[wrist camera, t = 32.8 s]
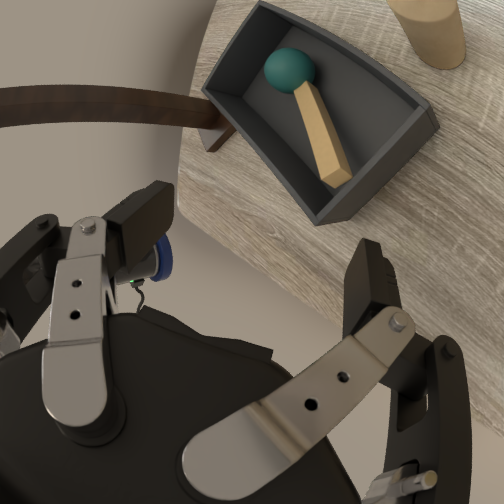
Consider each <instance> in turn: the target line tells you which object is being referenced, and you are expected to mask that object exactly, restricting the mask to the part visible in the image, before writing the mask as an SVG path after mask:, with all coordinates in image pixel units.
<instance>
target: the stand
mask: <svg viewBox="0 0 504 504" xmlns="http://www.w3.org/2000/svg"><path fill="white" fill-rule="evenodd" d="M59 122H127V123H145V124H159V125H171V126H181V127H190V128H197V129H198V132H199V134H200V137H201V139H202V142H203V145H204V147H205V150H206V152H215V151H216V150H217V149H218V148H219V147H220V146H221V145H222V144H223V143H224V142H225V141H226V140H227V139H228V138H229V137H230V136H231V135H232V134H233V133H234V132H235V131H236V128H235V127H234V126H233V125H232V124H231V123H230V122H229V121H228V119H227V118H226V117H225V116H224V115H223V114H222V113H221V112H220V111H219V109H218V108H217V107H216V106H215V105H214V104H213V103H212V102H211V101H210V100H205V99H200V98H195V97H190V96H184V95H178V94H172V93H166V92H158V91H151V90H143V89H134V88H125V87H113V86H96V85H35V86H19V87H9V88H0V128H2V127H10V126H19V125H29V124H41V123H59Z"/></svg>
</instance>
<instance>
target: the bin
mask: <svg viewBox="0 0 504 504" xmlns="http://www.w3.org/2000/svg"><path fill="white" fill-rule="evenodd" d="M282 48H295V49H299V50H301V51H303V52H304V53H306V54H307V55H308V56H309V57H310V58H311V59H312V61H313V63H314V66H315V78H314V80H313V82H312V85H314V86H315V87H316V88H317V89H318V91H319V93H320V96H321V98H322V100H323V102H324V104H325V107H326V109H327V111H328V114H329V116H330V118H331V121H332V123H333V125H334V128H335V130H336V133H337V135H338V138H339V140H340V143H341V145H342V148H343V150H344V153H345V156H346V158H347V161H348V164H349V167H350V170H351V172H352V175H353V178H352V179H350V180H349V181H347V182H345V183H344V184H342V185H340V186H339V187H337V188H333V187H332V186H330V185H329V184H327V183H326V182H324V181H322V180H321V177H320V174H319V170H318V167H317V163H316V160H315V156H314V153H313V149H312V146H311V143H310V139H309V136H308V133H307V130H306V127H305V124H304V120H303V117H302V114H301V111H300V108H299V105H298V103H297V100H296V97H295V94H287V93H282V92H280V91H278V90H276V89H274V88H273V87H272V86H271V85H270V84H269V83H268V81H267V79H266V77H265V73H264V66H265V63H266V60H267V59H268V57H269V56H270V55H271V54H272V53H273V52H275V51H276V50H279V49H282ZM201 91H202V92H203V93H204V94H205V95H206V96H207V98H208V99H209V100H210V101H211V102H212V103H213V104H214V105H215V106H216V107H217V108H218V109H219V111H220V112H221V113H222V114H223V115H224V116H225V117H226V118H227V119H228V121H229V122H230V123H231V124H232V125H233V126H234V127H235V128H236V130H237V131H238V132H239V133H240V134H241V135H242V136H243V138H244V139H245V140H246V141H247V142H248V143H249V145H250V146H251V147H252V148H253V149H254V150H255V152H256V153H257V154H258V155H259V156H260V158H261V159H262V160H263V161H264V162H265V164H266V165H267V166H268V167H269V168H270V170H271V171H272V172H273V173H274V175H275V176H276V177H277V178H278V179H279V181H280V182H281V183H282V184H283V186H284V187H285V188H286V189H287V191H288V192H289V193H290V194H291V196H292V197H293V198H294V200H295V201H296V202H297V203H298V205H299V206H300V207H301V209H302V210H303V211H304V212H305V214H306V215H307V216H308V218H309V219H310V220H311V222H312V223H313V224H314V226H321V225H326V224H331V223H337V222H342V221H347V220H349V219H350V218H351V217H352V216H353V215H354V214H356V213H357V212H358V211H359V210H360V209H361V208H362V207H363V206H364V205H365V204H366V203H367V202H368V201H369V200H370V199H371V198H372V197H373V196H374V195H375V194H376V193H377V192H378V191H379V190H380V189H381V188H382V187H383V186H384V185H385V184H386V183H387V182H388V181H389V180H390V179H391V178H392V177H393V176H394V175H395V174H396V173H397V172H398V171H399V170H400V169H401V168H402V167H403V166H404V165H405V164H406V163H407V162H408V161H409V160H410V159H411V158H412V157H413V155H414V154H415V153H416V152H417V151H418V150H419V149H420V148H421V147H422V146H423V145H424V144H425V143H426V142H427V141H428V140H429V139H430V138H431V137H432V135H433V134H434V133H435V132H436V131H437V130H438V129H439V128H440V126H439V123H438V121H437V119H436V116H435V114H434V111H433V109H432V107H431V105H430V104H429V103H428V102H427V101H426V100H425V99H424V98H423V97H422V96H420V95H419V94H418V93H417V92H416V91H415V90H413V89H412V88H411V87H410V86H409V85H407V84H406V83H405V82H404V81H402V80H401V79H400V78H399V77H397V76H396V75H395V74H393V73H392V72H391V71H389V70H388V69H387V68H385V67H384V66H382V65H381V64H380V63H378V62H377V61H375V60H374V59H373V58H371V57H370V56H368V55H367V54H365V53H364V52H362V51H360V50H359V49H357V48H356V47H354V46H353V45H351V44H349V43H348V42H346V41H344V40H343V39H341V38H339V37H338V36H336V35H334V34H332V33H330V32H329V31H327V30H325V29H323V28H321V27H319V26H317V25H316V24H314V23H312V22H310V21H308V20H306V19H304V18H301V17H299V16H297V15H295V14H293V13H291V12H288V11H286V10H284V9H281V8H279V7H277V6H274V5H272V4H269V3H267V2H264V1H261V0H259V1H258V2H257V4H256V5H255V6H254V8H253V9H252V10H251V12H250V13H249V14H248V16H247V17H246V19H245V20H244V22H243V23H242V24H241V26H240V27H239V29H238V30H237V32H236V33H235V35H234V36H233V38H232V39H231V41H230V42H229V44H228V45H227V47H226V48H225V50H224V52H223V53H222V55H221V56H220V58H219V60H218V61H217V63H216V65H215V66H214V68H213V70H212V71H211V73H210V75H209V76H208V78H207V80H206V82H205V83H204V85H203V87H202V89H201Z"/></svg>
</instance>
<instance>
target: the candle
mask: <svg viewBox="0 0 504 504" xmlns="http://www.w3.org/2000/svg"><path fill="white" fill-rule="evenodd" d="M386 1H387V3H388V5H389V6H390V8H391V9H392V11H393V12H394V14H395V16H396V17H397V19H398V21H399V22H400V24H401V26H402V28H403V29H404V31H405V33H406V35H407V37H408V39H409V41H410V42H411V44H412V46H413V48H414V50H415V52H416V53H417V55H418V56H419V57H420V58H421V59H422V60H423V61H424V62H425V63H427V64H428V65H430V66H432V67H435V68H439V69H452V68H455V67H457V66H459V65H460V64H461V63H462V62H463V60H464V58H465V54H466V45H465V39H464V33H463V27H462V22H461V17H460V12H459V8H458V4H457V0H386Z"/></svg>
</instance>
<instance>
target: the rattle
mask: <svg viewBox="0 0 504 504" xmlns="http://www.w3.org/2000/svg"><path fill="white" fill-rule="evenodd" d="M264 73H265V77H266V79H267V81H268V83H269V84H270V85H271V86H272V87H273V88H274V89H276V90H278V91H280V92H282V93H287V94H295V97H296V100H297V103H298V105H299V108H300V111H301V114H302V117H303V120H304V124H305V127H306V130H307V133H308V136H309V139H310V143H311V146H312V149H313V153H314V156H315V160H316V163H317V167H318V170H319V174H320V177H321V180H322V181H324V182H326V183H327V184H329V185H330V186H332V187H333V188H337V187H339V186H340V185H342V184H344V183H345V182H347V181H349V180H350V179H352V178H353V175H352V172H351V170H350V167H349V164H348V161H347V158H346V156H345V153H344V150H343V148H342V145H341V143H340V140H339V138H338V135H337V133H336V130H335V128H334V125H333V123H332V121H331V118H330V116H329V114H328V111H327V109H326V107H325V104H324V102H323V100H322V98H321V96H320V93H319V91H318V89H317V88H316V87H315V86H314V85H312V82H313V80H314V78H315V66H314V63H313V61H312V59H311V58H310V57H309V56H308V55H307V54H306V53H304V52H303V51H301V50H299V49H295V48H282V49H279V50H276V51H275V52H273V53H272V54H271V55H270V56H269V57H268V59H267V60H266V63H265V66H264Z"/></svg>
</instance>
